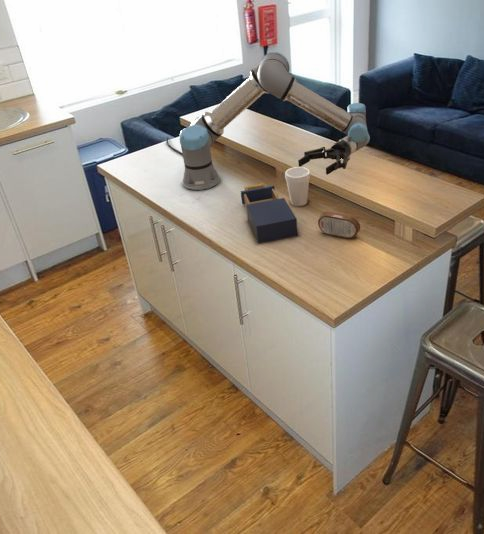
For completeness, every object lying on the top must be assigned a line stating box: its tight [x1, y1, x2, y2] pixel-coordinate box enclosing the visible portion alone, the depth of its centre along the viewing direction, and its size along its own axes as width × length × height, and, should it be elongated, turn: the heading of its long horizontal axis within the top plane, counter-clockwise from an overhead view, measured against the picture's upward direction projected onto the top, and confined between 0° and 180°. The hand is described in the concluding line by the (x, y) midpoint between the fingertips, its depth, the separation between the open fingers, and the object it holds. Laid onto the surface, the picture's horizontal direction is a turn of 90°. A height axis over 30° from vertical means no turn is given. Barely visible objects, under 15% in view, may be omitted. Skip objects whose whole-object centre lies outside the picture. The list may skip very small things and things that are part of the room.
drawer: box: [240, 183, 280, 207], centre depth 218 cm, size 22×13×5 cm, turn 16°
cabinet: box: [245, 197, 299, 244], centre depth 205 cm, size 17×15×7 cm
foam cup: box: [284, 166, 311, 207], centre depth 218 cm, size 10×9×13 cm
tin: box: [317, 211, 361, 239], centre depth 197 cm, size 15×3×8 cm, turn 65°
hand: (312, 167), depth 221 cm, fingers open, 13 cm apart
